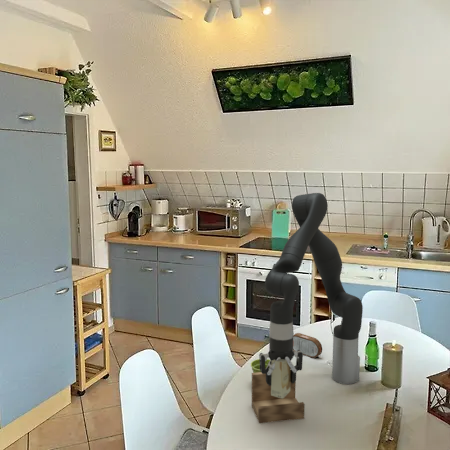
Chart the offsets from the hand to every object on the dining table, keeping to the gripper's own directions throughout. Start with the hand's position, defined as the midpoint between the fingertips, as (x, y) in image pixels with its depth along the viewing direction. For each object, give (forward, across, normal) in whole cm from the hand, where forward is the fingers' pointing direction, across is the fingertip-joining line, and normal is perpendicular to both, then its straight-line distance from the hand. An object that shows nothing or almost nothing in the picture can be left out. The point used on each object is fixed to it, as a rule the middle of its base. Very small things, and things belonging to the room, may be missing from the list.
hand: (280, 383), depth 149 cm
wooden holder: (+12, 0, -3) cm, 12 cm away
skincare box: (+4, 0, 0) cm, 4 cm away
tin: (+12, -25, -45) cm, 53 cm away
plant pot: (+12, 0, -21) cm, 24 cm away
